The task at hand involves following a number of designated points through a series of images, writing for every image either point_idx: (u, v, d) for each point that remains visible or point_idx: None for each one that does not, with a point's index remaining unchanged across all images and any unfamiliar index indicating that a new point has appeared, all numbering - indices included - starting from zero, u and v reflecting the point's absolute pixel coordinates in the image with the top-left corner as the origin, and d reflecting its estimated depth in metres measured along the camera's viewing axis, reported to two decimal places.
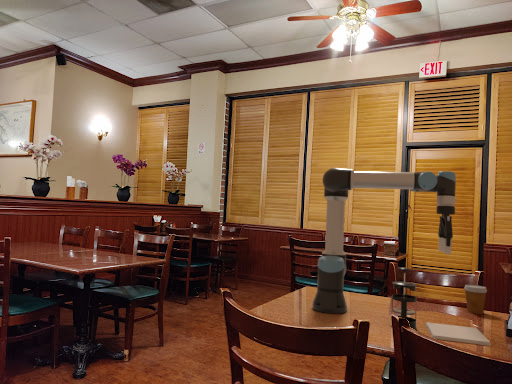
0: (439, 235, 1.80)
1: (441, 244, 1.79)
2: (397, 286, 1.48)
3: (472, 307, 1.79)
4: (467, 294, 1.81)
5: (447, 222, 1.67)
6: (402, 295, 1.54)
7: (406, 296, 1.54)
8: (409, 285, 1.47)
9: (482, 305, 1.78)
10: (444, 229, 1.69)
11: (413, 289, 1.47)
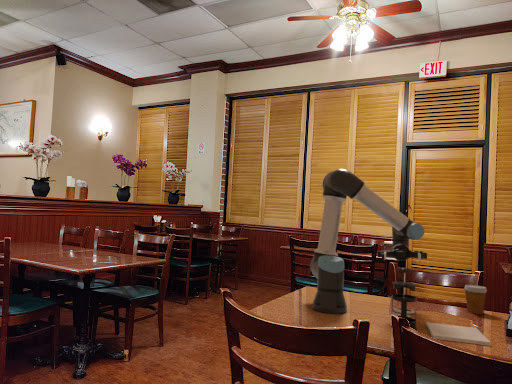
0: (385, 251, 1.70)
1: None
2: (397, 286, 1.48)
3: (472, 307, 1.79)
4: (467, 294, 1.81)
5: None
6: (402, 295, 1.54)
7: (406, 296, 1.54)
8: (409, 285, 1.47)
9: (482, 305, 1.78)
10: (414, 252, 1.69)
11: (413, 289, 1.47)
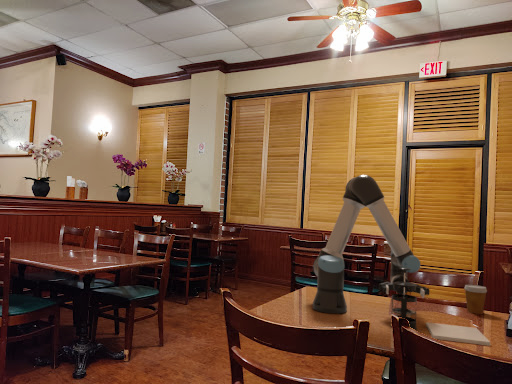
0: (386, 284, 1.65)
1: None
2: (397, 286, 1.48)
3: (472, 307, 1.79)
4: (467, 294, 1.81)
5: None
6: (402, 295, 1.54)
7: (406, 296, 1.54)
8: (409, 285, 1.47)
9: (482, 305, 1.78)
10: (416, 286, 1.64)
11: (413, 289, 1.47)
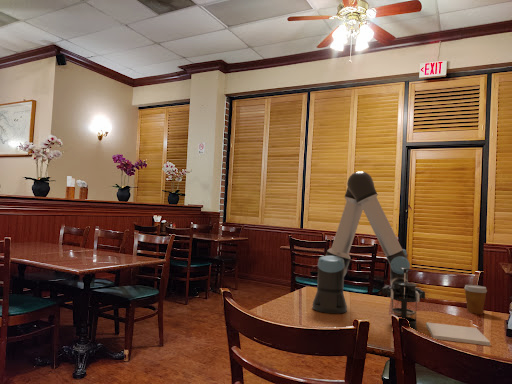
0: (391, 288, 1.55)
1: None
2: (397, 286, 1.48)
3: (472, 307, 1.79)
4: (467, 294, 1.81)
5: None
6: (402, 295, 1.54)
7: (406, 296, 1.54)
8: (409, 285, 1.47)
9: (482, 305, 1.78)
10: None
11: (413, 289, 1.47)
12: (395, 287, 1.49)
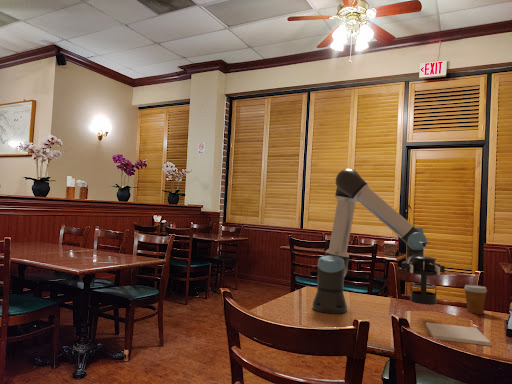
0: (409, 264, 1.53)
1: None
2: (417, 260, 1.46)
3: (472, 307, 1.79)
4: (467, 294, 1.81)
5: None
6: (421, 270, 1.52)
7: (425, 271, 1.52)
8: (429, 258, 1.45)
9: (482, 305, 1.78)
10: None
11: (433, 262, 1.45)
12: (414, 261, 1.48)
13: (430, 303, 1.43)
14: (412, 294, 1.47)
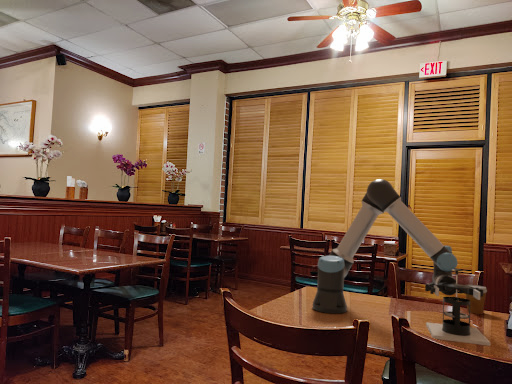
0: (434, 285, 1.50)
1: None
2: (450, 288, 1.41)
3: (472, 307, 1.79)
4: (467, 294, 1.81)
5: None
6: (453, 298, 1.47)
7: (457, 299, 1.46)
8: (463, 287, 1.40)
9: (482, 305, 1.78)
10: None
11: (467, 291, 1.40)
12: (447, 289, 1.42)
13: (464, 334, 1.38)
14: (444, 324, 1.42)
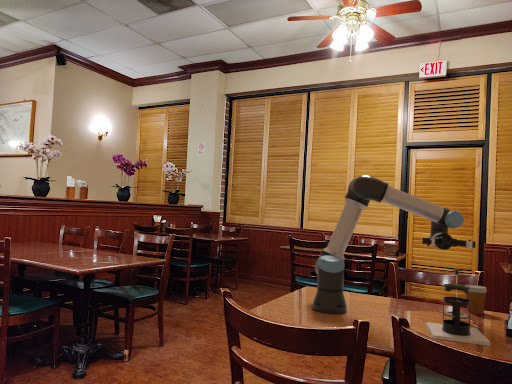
0: (431, 238, 1.63)
1: None
2: (450, 288, 1.41)
3: (472, 307, 1.79)
4: (467, 294, 1.81)
5: None
6: (453, 298, 1.47)
7: (457, 299, 1.46)
8: (463, 287, 1.40)
9: (482, 305, 1.78)
10: (460, 240, 1.63)
11: (467, 292, 1.40)
12: (447, 290, 1.42)
13: (464, 334, 1.38)
14: (444, 324, 1.42)
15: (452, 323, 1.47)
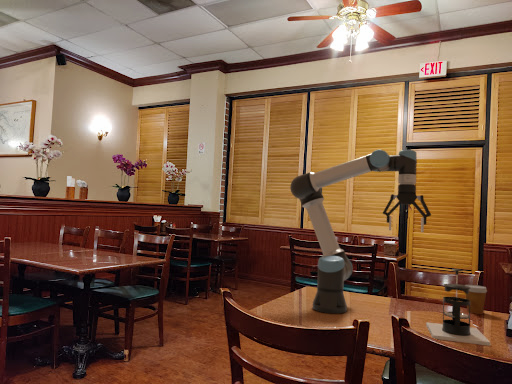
0: (422, 215, 1.73)
1: (421, 224, 1.72)
2: (450, 288, 1.41)
3: (472, 307, 1.79)
4: (467, 294, 1.81)
5: None
6: (453, 298, 1.47)
7: (457, 299, 1.46)
8: (463, 287, 1.40)
9: (482, 305, 1.78)
10: None
11: (467, 292, 1.40)
12: (447, 290, 1.42)
13: (464, 334, 1.38)
14: (444, 324, 1.42)
15: (452, 323, 1.47)
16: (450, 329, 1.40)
